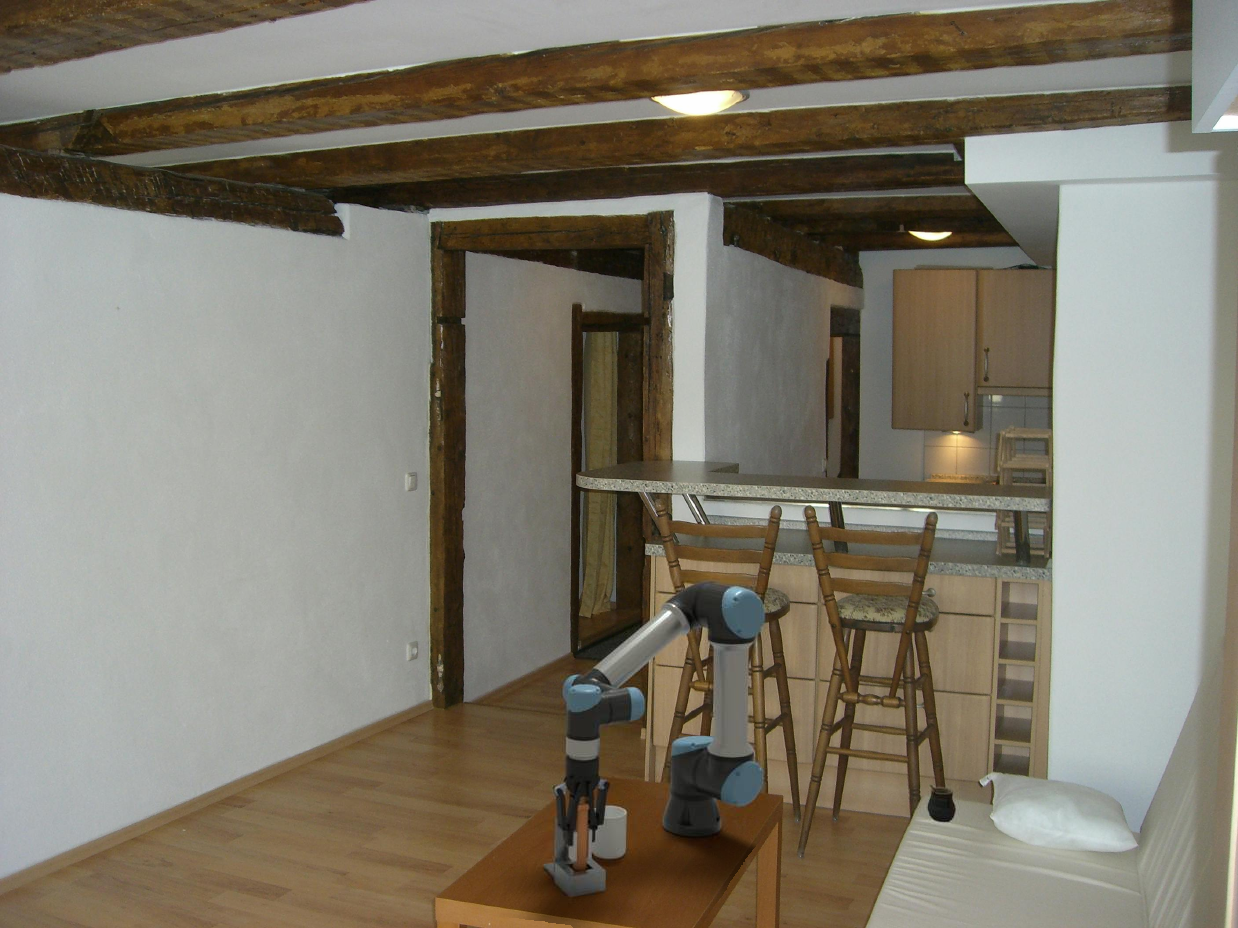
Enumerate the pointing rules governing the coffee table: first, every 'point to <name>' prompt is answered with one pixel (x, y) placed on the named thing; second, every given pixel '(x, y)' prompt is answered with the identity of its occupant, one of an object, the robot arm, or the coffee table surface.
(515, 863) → the coffee table surface
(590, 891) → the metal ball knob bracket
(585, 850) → the wedge pin
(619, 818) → the cup
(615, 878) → the coffee table surface
